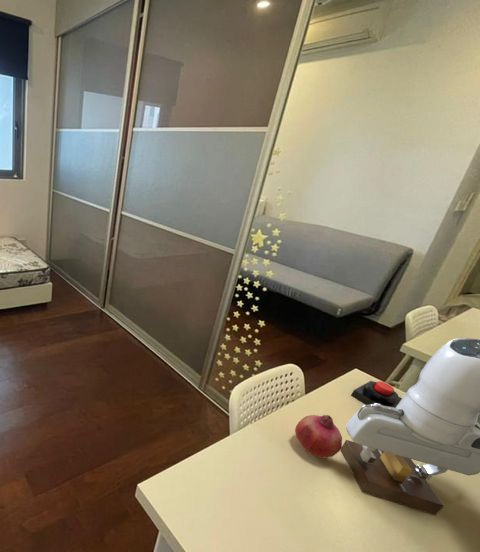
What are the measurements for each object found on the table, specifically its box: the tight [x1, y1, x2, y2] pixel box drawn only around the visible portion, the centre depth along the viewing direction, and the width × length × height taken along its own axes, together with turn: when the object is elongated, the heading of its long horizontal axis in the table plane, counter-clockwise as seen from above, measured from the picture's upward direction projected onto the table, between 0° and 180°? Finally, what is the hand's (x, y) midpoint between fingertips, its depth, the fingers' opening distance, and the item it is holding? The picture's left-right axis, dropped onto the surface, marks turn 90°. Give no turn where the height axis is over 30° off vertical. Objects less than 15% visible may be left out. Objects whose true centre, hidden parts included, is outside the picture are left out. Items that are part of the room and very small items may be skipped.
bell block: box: [350, 380, 403, 408], centre depth 87 cm, size 10×8×4 cm
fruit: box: [294, 414, 343, 459], centre depth 68 cm, size 8×8×10 cm
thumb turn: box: [380, 451, 412, 482], centre depth 64 cm, size 5×2×4 cm, turn 163°
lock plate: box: [340, 439, 445, 516], centre depth 65 cm, size 12×10×3 cm
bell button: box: [374, 380, 395, 396], centre depth 86 cm, size 4×4×2 cm
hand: (392, 467), depth 64 cm, fingers open, 8 cm apart
